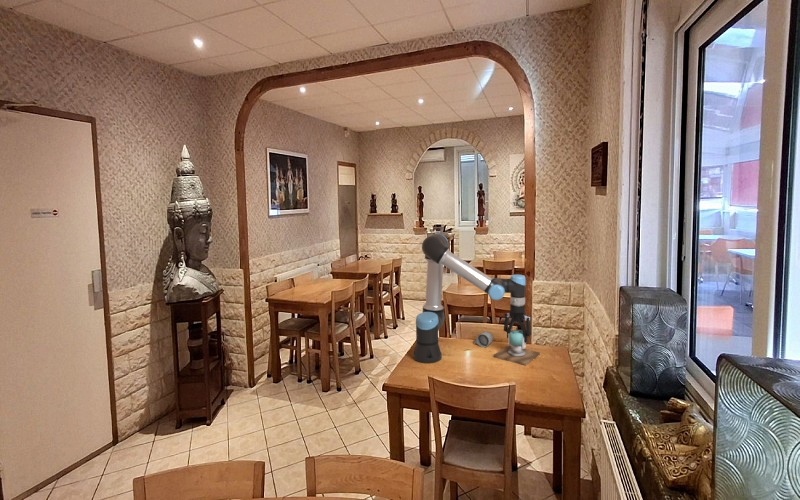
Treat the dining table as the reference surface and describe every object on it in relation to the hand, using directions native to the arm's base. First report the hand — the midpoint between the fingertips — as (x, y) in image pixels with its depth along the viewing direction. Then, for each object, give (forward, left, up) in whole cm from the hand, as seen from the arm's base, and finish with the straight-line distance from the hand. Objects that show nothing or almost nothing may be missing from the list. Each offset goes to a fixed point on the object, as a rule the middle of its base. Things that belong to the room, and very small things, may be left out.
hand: (516, 346), depth 221 cm
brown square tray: (0, 0, -5) cm, 5 cm away
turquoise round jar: (0, 0, +2) cm, 2 cm away
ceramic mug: (-22, +3, -6) cm, 23 cm away
